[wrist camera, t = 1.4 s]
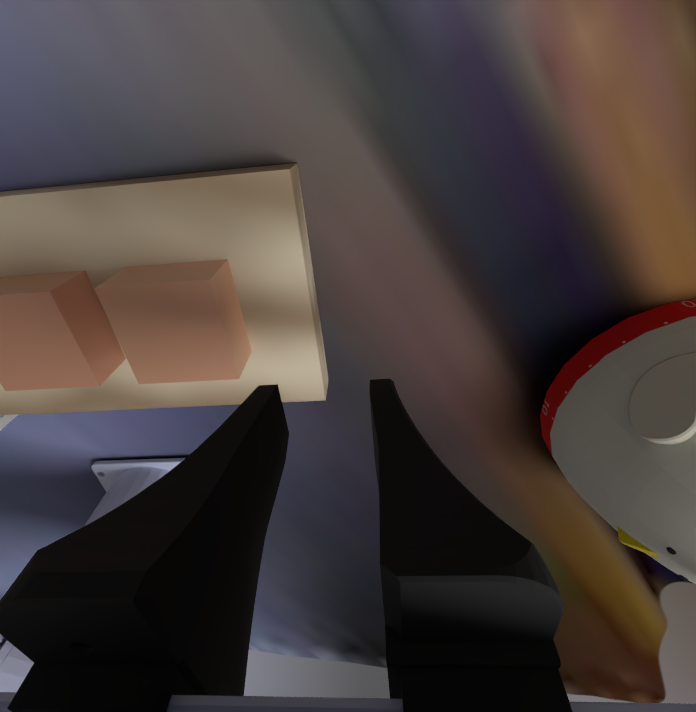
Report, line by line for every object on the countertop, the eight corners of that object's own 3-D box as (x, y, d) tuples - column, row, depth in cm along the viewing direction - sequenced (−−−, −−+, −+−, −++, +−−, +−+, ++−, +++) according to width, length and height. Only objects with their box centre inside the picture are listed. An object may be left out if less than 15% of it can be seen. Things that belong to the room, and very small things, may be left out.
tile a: (251, 351, 21) (239, 379, 19) (161, 356, 21) (138, 384, 19) (227, 259, 18) (209, 279, 16) (125, 267, 19) (94, 288, 17)
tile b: (126, 358, 21) (100, 386, 19) (40, 363, 22) (5, 391, 20) (84, 270, 19) (49, 291, 17) (-12, 277, 19) (-59, 299, 17)
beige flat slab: (328, 379, 24) (325, 400, 22) (24, 394, 26) (0, 415, 24) (296, 162, 18) (289, 169, 16) (-104, 201, 19) (-149, 211, 18)
